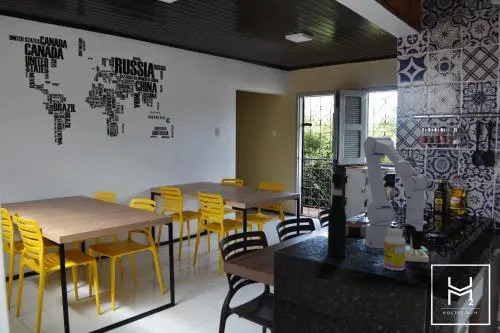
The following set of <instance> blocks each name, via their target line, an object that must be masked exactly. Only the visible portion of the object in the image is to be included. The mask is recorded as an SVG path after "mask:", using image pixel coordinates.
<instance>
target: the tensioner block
mask: <svg viewBox="0 0 500 333" xmlns="http://www.w3.org/2000/svg"><path fill="white" fill-rule="evenodd" d="M405 250H410V245H406V247H405ZM418 251H423V252H424V253H425V254H426V255H427V256H428V255H429V254H428V253H429V252H428V251H429V250H428V249H427V248H426V247H425V246H424V245H423V246H422V245H421V248H420V250H418Z"/></svg>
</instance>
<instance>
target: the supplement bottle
mask: <svg viewBox="0 0 500 333" xmlns="http://www.w3.org/2000/svg"><path fill="white" fill-rule="evenodd" d="M403 230H404V229H401V228H397V227H396V228H393V227H390V228H389V229H388V231H387V233H388V236H386V237H385V239H384V248H383V267H384V268H385V269H386V268H387V270H389V269H390V271H394V270H396V272H397V271H398V272H399V270H400V271H403V270H404V269H405V268H406V261H405V247H406V246H407V244H406V242H407V241H406V239H405V238H404V237H403V233H404V231H403Z"/></svg>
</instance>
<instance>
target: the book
mask: <svg viewBox="0 0 500 333" xmlns="http://www.w3.org/2000/svg"><path fill="white" fill-rule="evenodd" d="M366 224H370V222H369V221H358V220H348V219H346V237H351V236H353V237H362V238H366Z"/></svg>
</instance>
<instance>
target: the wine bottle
mask: <svg viewBox="0 0 500 333" xmlns="http://www.w3.org/2000/svg"><path fill="white" fill-rule="evenodd" d="M331 179H332V180H331V183H332V184H333V191H332V196H331V205H330V208H329V211H328V214H327V215H328V218H327V256H328V255H329V256H328V257H330V256H333V257H332V258H335V257H342V258H345V257H346V256H345V255H346V254H347V252H346V251H347V250H346V249H347V248H346V247H347V246H346V244H347V236H346V221H347V214H346V209H345V206H344V202H343V198H344V197H343V196H344V195H343V190H342V184H343V183H344V173H332V178H331ZM344 256H345V257H344Z"/></svg>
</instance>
